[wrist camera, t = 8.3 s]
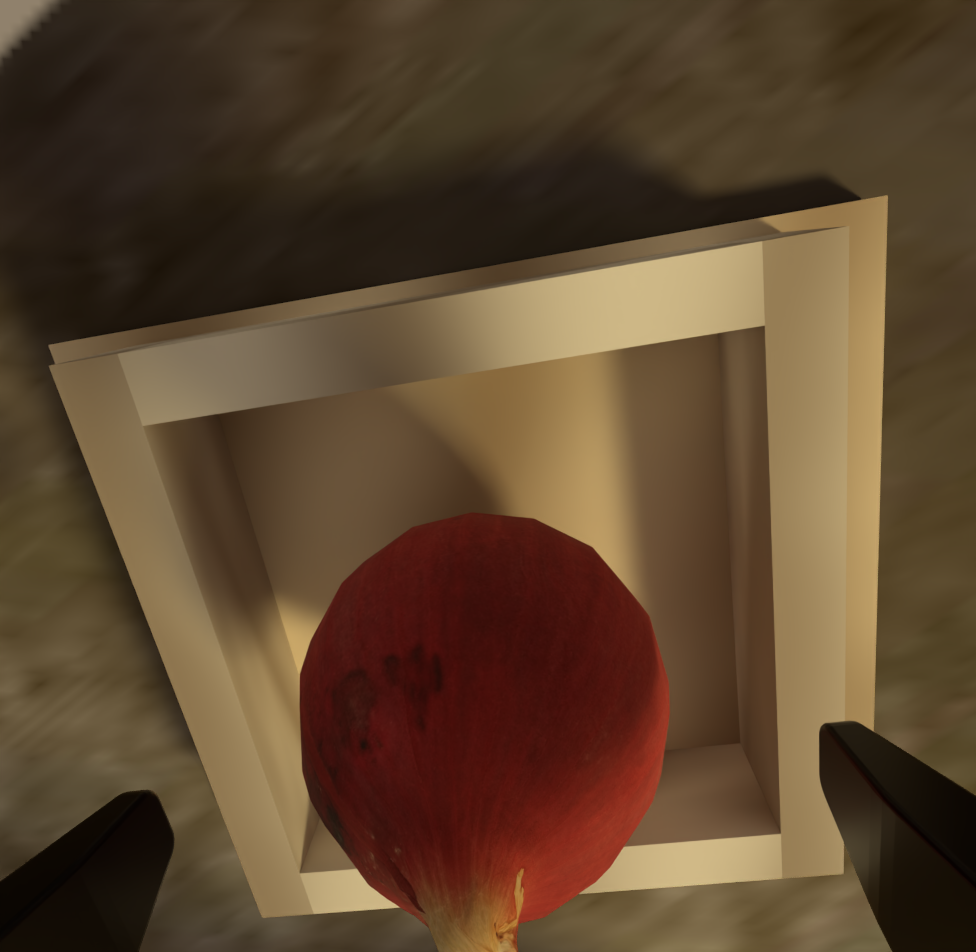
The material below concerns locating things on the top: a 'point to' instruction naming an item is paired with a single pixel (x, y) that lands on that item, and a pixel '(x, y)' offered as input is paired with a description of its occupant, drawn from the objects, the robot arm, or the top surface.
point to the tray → (525, 508)
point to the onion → (483, 723)
